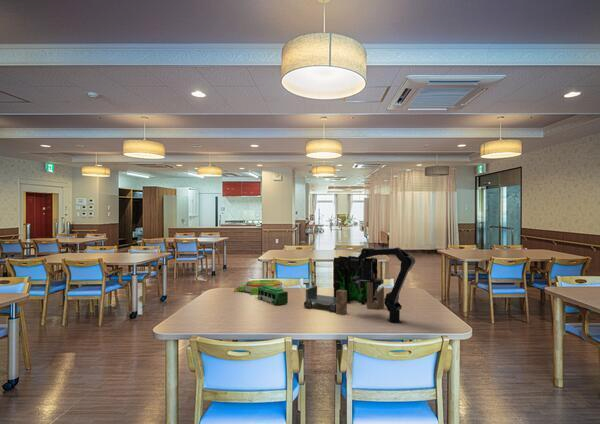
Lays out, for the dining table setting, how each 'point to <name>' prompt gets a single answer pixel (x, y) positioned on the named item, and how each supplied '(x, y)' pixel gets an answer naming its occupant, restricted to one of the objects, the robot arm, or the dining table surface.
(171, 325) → the dining table surface
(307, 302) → the trolley
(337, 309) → the brown rectangular pillar
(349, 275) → the decorative plant
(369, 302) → the wooden block
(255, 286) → the green piece
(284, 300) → the toy bus
